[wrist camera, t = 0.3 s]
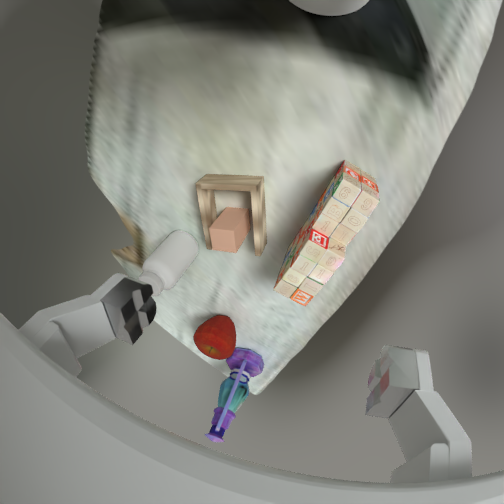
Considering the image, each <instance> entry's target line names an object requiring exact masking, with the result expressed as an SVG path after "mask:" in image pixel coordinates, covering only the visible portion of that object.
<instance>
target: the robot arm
mask: <svg viewBox="0 0 504 504" xmlns="http://www.w3.org/2000/svg"><path fill="white" fill-rule="evenodd" d="M289 1H290V2H291V3H293V4H294V5H296V6H297V7H299V8H301V9H303V10H305V11H308V12H311V13H314V14H318V15H325V16H338V15H345V14H349V13H352V12H354V11H356V10H358V9H360V8H362V7H363V6H364V5H365V4H366V3H367V2H368V1H369V0H289ZM152 294H153V289H152V285H150V284H148V283H145V282H143V281H140V280H137V279H135V278H132V277H129V276H126V275H124V274H121V273H116V274H114V275H113V276H112V277H111V278H110V279H108V280H107V281H106V282H105V283H104V284H103V285H102V286H101V287H99V288H98V289H97V290H96V291H95V292H94V293H93V294H92V295H90V296H89V295H86V296H82V297H79V298H77V299H73V300H70V301H68V302H64V303H62V304H58V305H55V306H52V307H49V308H46V309H43V310H40V311H38V312H37V313H36V314H35V315H34V316H33V317H32V318H31V319H30V320H28V321H27V322H26V323H25V324H24V325H23V326H22V327H21V328H20V329H19V330H17V329H16V328H15V327H14V326H13V325H12V324H11V323H10V322H9V321H8V320H7V319H6V318H5V317H4V316H3V315H2V314H1V313H0V504H504V470H502V471H498V472H494V473H490V474H485V475H480V476H474V477H472V452H471V440H470V439H469V437H468V436H467V434H466V433H465V431H464V430H463V428H462V427H461V425H460V424H459V422H458V421H457V420H456V418H455V416H454V415H453V414H452V412H451V411H450V409H449V408H448V406H447V405H446V404H445V402H444V401H443V399H442V398H441V397H440V395H439V394H438V392H434V391H433V382H432V374H431V367H430V360H429V354H428V352H427V351H424V350H417V349H410V348H403V347H398V346H392V345H385V346H384V347H383V349H382V351H381V358H380V359H378V360H376V361H375V363H374V364H373V366H372V369H371V372H370V375H369V380H368V388H369V390H370V391H371V393H370V395H369V396H368V398H367V405H366V415H369V416H375V417H382V418H389V419H388V420H389V423H390V425H391V427H392V429H393V432H394V434H395V436H396V438H397V441H398V443H399V445H400V447H401V450H402V452H403V454H404V457H405V459H406V461H407V462H406V463H404V464H403V465H401V466H399V467H398V468H396V469H395V470H394V471H392V475H391V481H390V483H375V482H374V483H373V482H359V481H348V480H338V479H331V478H324V477H317V476H311V475H306V474H300V473H295V472H290V471H286V470H281V469H277V468H273V467H269V466H265V465H261V464H257V463H254V462H251V461H247V460H244V459H240V458H237V457H234V456H231V455H228V454H225V453H222V452H219V451H217V450H214V449H211V448H208V447H205V446H203V445H201V444H198V443H196V442H193V441H191V440H188V439H185V438H183V437H181V436H179V435H176V434H174V433H172V432H169V431H168V430H166V429H163V428H161V427H159V426H157V425H155V424H153V423H151V422H149V421H147V420H145V419H143V418H141V417H140V416H137V415H136V414H134V413H132V412H130V411H128V410H127V409H125V408H123V407H121V406H120V405H118V404H116V403H115V402H113V401H111V400H110V399H108V398H106V397H105V396H103V395H101V394H100V393H98V392H97V391H95V390H94V389H92V388H90V387H89V386H88V385H86V384H85V383H83V382H82V381H80V380H79V379H77V378H76V376H77V375H78V374H79V373H80V371H81V370H82V369H81V368H82V367H81V365H80V363H79V362H78V360H77V359H76V358H78V357H80V356H82V355H84V354H86V353H88V352H90V351H92V350H94V349H96V348H98V347H100V346H102V345H104V344H106V343H108V342H110V341H112V340H114V339H115V337H116V338H118V339H121V340H122V341H125V342H127V343H129V344H131V345H133V344H134V343H135V342H136V341H137V340H138V338H139V337H140V336H141V335H142V333H143V328H144V327H146V326H149V325H150V324H151V322H152V321H153V320H154V317H155V315H156V302H155V301H154V299H153V298H152V297H151V296H152Z"/></svg>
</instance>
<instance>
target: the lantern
mask: <svg viewBox="0 0 504 504" xmlns="http://www.w3.org/2000/svg"><path fill="white" fill-rule="evenodd" d="M226 362H227V364H228V366H229V367H230V369H231V373H230V376H229V377H228V378H227V379H225V380H224V381H223V382H222V383H221V387H220V393H219V398H218V407H217V408H216V409H214V412H215V414H214V417H213V419H212V424H213V425H212V428H211V430H210V433H208V434H205V435H206V436H207V437H208V438H209V439H210V440H211V441H213V442H224V441H223V439H222V436H223V434H224V432H225V429H228V428H229V425H230V423H231V421H232V420H233V419H234V418H235V414H234V413H235V412H236V411H237V410H238V409H239V407H240V406H241V405H242V403H243V402H244V400H245V399H246V397H247V396H248V394H249V386H248V382H249V378H251V377H254V376H257V375H259V374H261V373H262V370H263V367H264V362H263V360H262V357H261V356H260V355H258V354H256V353H255V352H253V351H251V350H249V349H242V348H236V349H235V350H234V352H233V354H232V355H231V356H230V357H229V358H227V360H226Z"/></svg>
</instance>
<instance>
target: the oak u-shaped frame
mask: <svg viewBox="0 0 504 504" xmlns="http://www.w3.org/2000/svg"><path fill="white" fill-rule="evenodd" d="M213 189H215V190H234V191H251V203H252V217H253V230H254V244H255V256H261V254H262V252H263V250H264V248H265V246H266V244H267V236H266V214H265V193H264V176H246V175H218V174H206V175H205V176H204V177H203V178H201V179H200V180H199V181H198V182H197V183H196V190H197V196H198V202H199V208H200V213H201V219H202V225H203V230H204V236H205V241H206V246H207V249H210V250H212V242H211V236H210V230H209V228H210V227H211V225H212V224H213V223H214V222H215V220H216V219H217V211H216V204H215V197H214V190H213Z"/></svg>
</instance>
